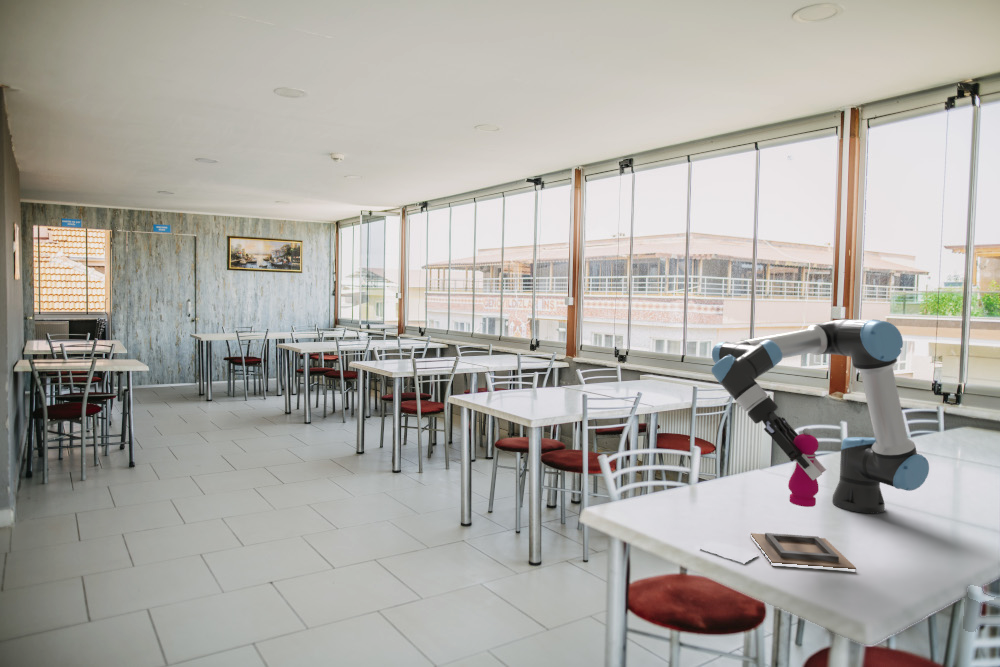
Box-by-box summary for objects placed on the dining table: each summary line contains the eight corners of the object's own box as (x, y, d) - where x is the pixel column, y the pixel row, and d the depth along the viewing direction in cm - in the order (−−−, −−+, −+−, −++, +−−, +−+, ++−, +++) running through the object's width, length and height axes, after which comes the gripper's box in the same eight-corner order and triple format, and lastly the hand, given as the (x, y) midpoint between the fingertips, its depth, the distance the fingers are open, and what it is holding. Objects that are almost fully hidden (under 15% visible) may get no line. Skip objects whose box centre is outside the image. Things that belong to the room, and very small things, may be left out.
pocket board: (824, 542, 179) (825, 533, 179) (855, 572, 160) (856, 562, 159) (750, 537, 182) (751, 528, 182) (772, 566, 162) (772, 556, 162)
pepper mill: (783, 502, 170) (787, 427, 169) (793, 497, 175) (797, 424, 174) (811, 509, 165) (816, 432, 164) (821, 503, 170) (826, 429, 169)
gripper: (756, 409, 185) (815, 476, 176) (737, 417, 171) (800, 490, 162) (776, 392, 182) (837, 460, 173) (759, 399, 167) (825, 474, 158)
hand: (819, 475), depth 167 cm, fingers closed on pepper mill, 5 cm apart
